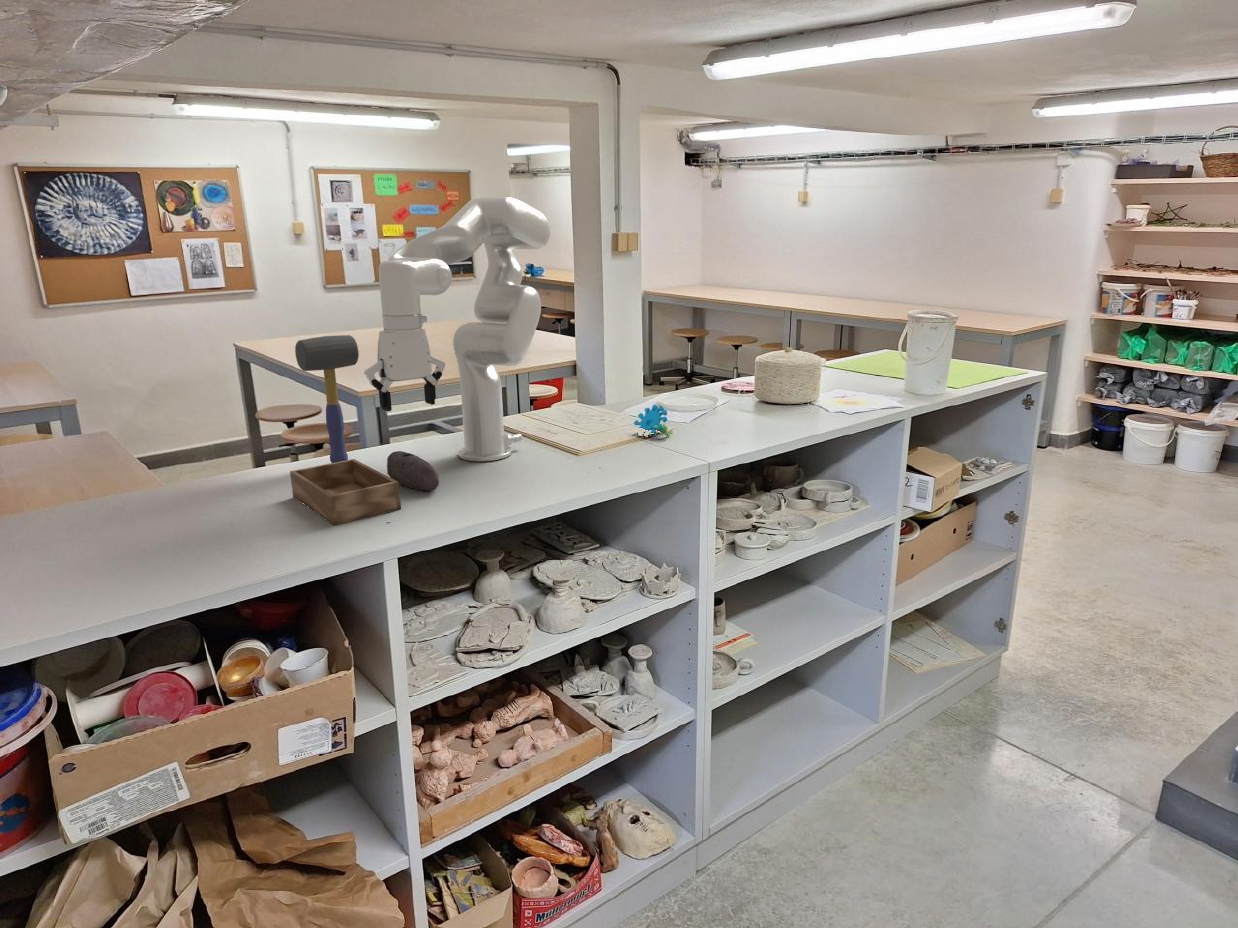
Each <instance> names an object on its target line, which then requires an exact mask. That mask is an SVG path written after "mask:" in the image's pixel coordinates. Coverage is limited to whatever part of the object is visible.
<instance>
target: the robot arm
mask: <svg viewBox="0 0 1238 928" xmlns="http://www.w3.org/2000/svg"><path fill="white" fill-rule="evenodd" d="M550 237H551V226H550V222H549V221H548V219H547V217H546V216H545V214H543V212H541V211H540V210H537V209H536V208H534V207H532V206H531V205H529V204H527V203H526V202H524V201H522V200H520V199H517V198H514V197H512V196H492V197H491V196H486V197H485V196H482V197H475V198H473V199H471V200H468V202H466V203H465V204H464V206H463V207H461V208H460V209H459V210H458V211H457V212H456V213H455V214H454V215H453V216H452V217H451V218H450V219H449V220H448V221H447V222H446V223H445V224H443V226H441V227H438V228H436V229H433V230H431V231H429V232H427V233H425V234H423V235H421V236H418V237H416V238H414V239H411V240H410V241H408V242H406V243H404V244H403V245H402V246H401V247H400V248H399V249H397V250H396V251H395V252H394V253H393V254H392V255H391V256H390V257H389V258H388V259H387V260H384V261H381V262H380V263H379V266H378V277H379V278H378V280H379V281H378V282H379V292H380V293H379V294H380V304H381V305H380V306H381V313H382V314H381V315H382V316H381V317H382V326H383V327H382V328H383V330H380V331H379V333H378V341H377V362H375V363H373V365H371V366H370V367H368V368H367V369H365V370H364V372H363V374H364V376H365V377H366V379H367V381H368V382H369V384H370V385H371V386H372V387H374V388H375V389H376V390H377V391H378V395H379V397H378V399H379V405H380V407H381V409H382V410H383V411H385V412H392V407H393V406H392V398H391V397H392V396H391V392H390V391H389V389H390V387H391V385H392V384H393V382H402V381H410V380H417V379H418V380H419V379H423V381H424V382H425V383H424V385H423V390H424V402H425V403H426V404H428V405H431V406H433V405H435V404H436V400H437V395H436V385H438V381H439V380H441V378H442V376H443V372H444V370H445V367H446V362H445V361H442V360H440V359H437V358H435V357H433V356H431V350H430V345H429V339H428V336H427V332H426V330H425V328H423V327H424V326H423V325H424V324H425V323H427V322H428V318H427V316H426V315H423V314H422V311H421V299H420V296H439V295H441V294H444V293H445V292H446V291H447V290H448V289H449V288H450V287H451V284H452V281H453V273H452V270H451V268H450V267H449V265H452V264H457V263H459V262H463V261H466V260H467V259H469V258H471V257H472V256H473V255H474V253H475V252H477V250H478V249H479V248H480V247H481V246H482V245H484V247H485V252H486V257H487V263H488V264H487V269H486V273H485V275H484V278H483V280H482V283H481V285H480V288H479V291H478V293H477V295H476V299H475V301H474V304H473V311H474V316H475V318H476V319H477V320H478V321H475V322H467V323H463V324H461V325H460V326H459V327H458V328H457V329H455V332H454V334H453V339H452V341H453V342H452V343H453V344H452V347H453V350H454V354H455V358H456V359H455V360H456V362H457V366H458V367H457V368H458V372H459V373H458V374H459V381H460V382H459V383H460V396H461V411H462V414H461V415H462V424H463V425H462V428H463V440H464V441H463V442H464V447H461V448H460V449H459V450H458V457H459V458H460V459H462V460H465V461H470V462H471V461H472V462H493V461H497V460H502V459H505V458H508V457H510V455H512V448H511V447H510V445H512V444H513V443H519V442H523V441H522V440H523V436H522V434H521V433H517V434H511V433H509V434H508V433H505V429H504V428H505V425H504V409H503V389H502V388H503V387H502V380H501V377H500V374H499V372H498V370H497V369H496V367H495V366H501V367H503V366H505V367H516V366H517V365H519V364H521V363H522V362H523V361H524V360H525V358H526V357H527V354H528V352H529V350H530V346H531V343H532V341H533V338H534V336H535V332H536V330H537V327H538V325H539V321H540V317H541V314H542V313H541V311H542V301H541V297H540V294H539V292H538V291H537V290H536V289H535V288H534V287H532V286H529V285H526V284H521V283H522V280H523V274H524V273H523V270H522V267H521V264H520V263H519V261H518V260H517V258H516V256H515V255H514V254H515V253H514V252H513V250H538V249H542V248H544V246H546V245H547V244H548V242H549V240H550ZM432 365H434V366H435V370H434V371H433V369H432V368H433V366H432ZM377 373H378V377H379V378H380V380H378V379H377V378H376V375H375V374H377Z"/></svg>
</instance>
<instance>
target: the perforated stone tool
mask: <svg viewBox="0 0 1238 928" xmlns="http://www.w3.org/2000/svg"><path fill="white" fill-rule="evenodd" d="M386 469H387V470H386V472H387V474H388V475H387V476H388V477H390V478H392V479H394V480H396V481H398V482H399V485H401V486H404V487H408V488H410V489H414V490H415V489H416V490H420V491H424V492H425V491H426V492H431V491H434V490H436V489H437V488H438V487H439V486H440V485H439V484H440V477H439V474H438V472H437V470H436V468H435V467H434V466H433V465H432V464H431V463H429V462H428V461H427V460H425V459H423V458H421V457H419V456H418V455H416V454H413V453H410V452H405V451H403V450H402V451H401V450H398V451H393V452H391V453H390V454H389V455H388V456H387V458H386Z"/></svg>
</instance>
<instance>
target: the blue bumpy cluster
mask: <svg viewBox="0 0 1238 928" xmlns="http://www.w3.org/2000/svg"><path fill="white" fill-rule="evenodd" d="M644 413H645V414H643V413H642V412H639V414H638V415H637V417H638V418H639V419H640V421H639V420H638V419H635V421H634V422H633V425H635V426H636V425H638V428H643V429H645V430H648V431H649V430H652V431H651V432H650V434H651V433H654V434H656V435H657V433H658V432H657V431H660V432H661V433H660V434H664V435H665V436H666V437H667V436H671V435H670V434H669V432H668V426H667V425H666V423H667V421H668V417H666V416H667V415H668V410H667V409H665V408H664V407H663V405H659V406H657V405H656V404H653V405H651V409H650V407H645V408H644ZM661 421H662V422H663V423H664V424H662V423H660V422H661ZM656 430H657V431H656Z"/></svg>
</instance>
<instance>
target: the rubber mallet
mask: <svg viewBox="0 0 1238 928" xmlns="http://www.w3.org/2000/svg"><path fill="white" fill-rule="evenodd" d="M359 352H360V351H359V347H358V343H357V341H356V339H355V338H354V337H353V336H352V335H351V334H349V335H348V334H347V335H344V334H343V335H338V334H337V335H325V336H324V335H323V336H317V337H310V338H305V339H300V340H297V342H296V344H295V348H294V353H295V358H296V362H297V366H298V367H299V369H300V370H301V371H303V372H311V371H312V372H313V371H323V378H324V389H325V395H326V396H325V397H326V407H325V422H326V424H325V425H326V429H327V433H328V436H329V437H328V439H329V447H330V455H329V460H330V462H331V463H336V462H341V461H346V460H349V456H348V453H347V449H346V443H345V423H344V415H343V411H342V407H341V404H340V403H339V400H340V399H339V394H338V393H339V392H338V387H337V386H338V385H337V376H336V369H341V368H347V367H350V366H351V367H352V366H355V365H356V364H357V363H358V361H359V356H360V353H359ZM331 463H330V464H331Z"/></svg>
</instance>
